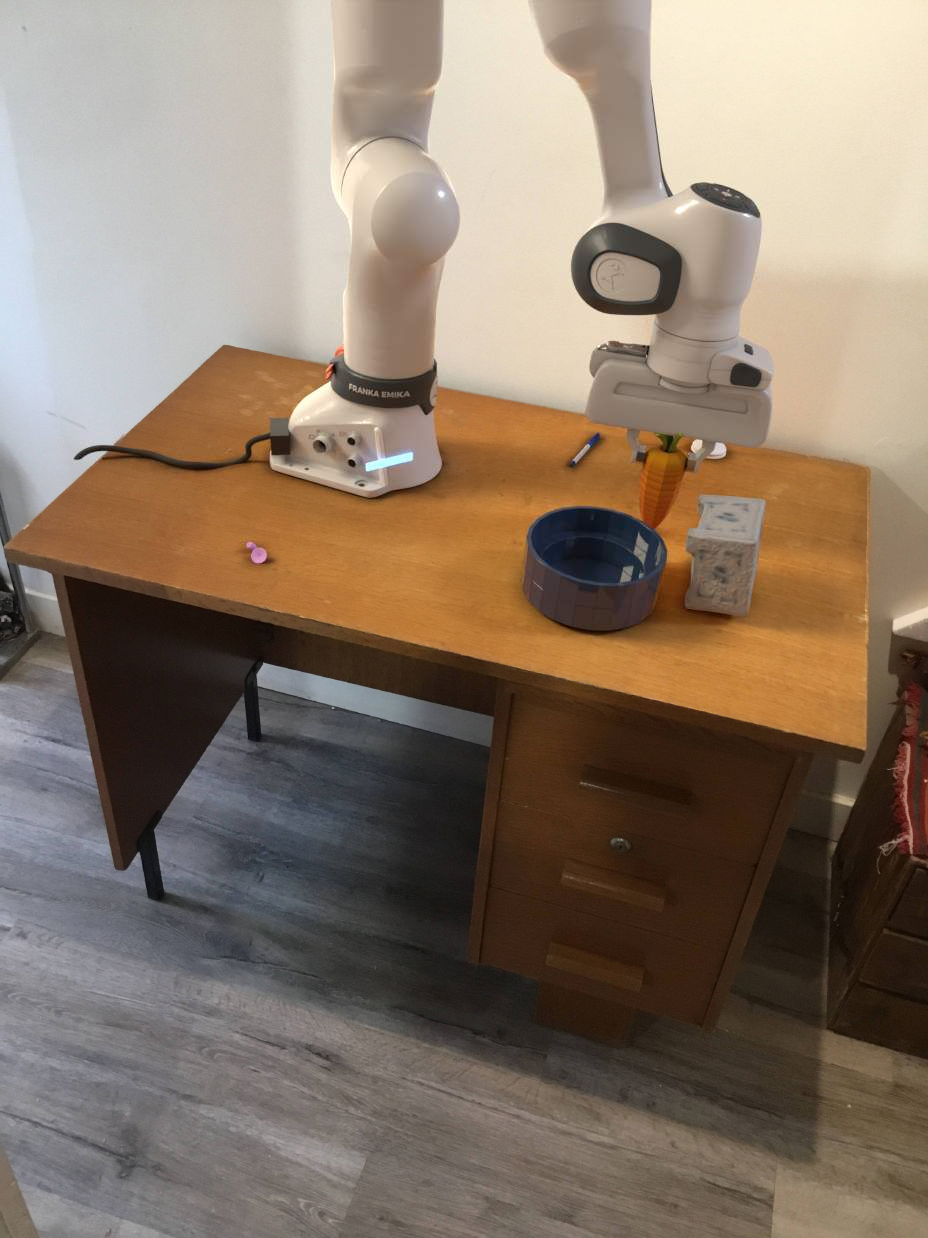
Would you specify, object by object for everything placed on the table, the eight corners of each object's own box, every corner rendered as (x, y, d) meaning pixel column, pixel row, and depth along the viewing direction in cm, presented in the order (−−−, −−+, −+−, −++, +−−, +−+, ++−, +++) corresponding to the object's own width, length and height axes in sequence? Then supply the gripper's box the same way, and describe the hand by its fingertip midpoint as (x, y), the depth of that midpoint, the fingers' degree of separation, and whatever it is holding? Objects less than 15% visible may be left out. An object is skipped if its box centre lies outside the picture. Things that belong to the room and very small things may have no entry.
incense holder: (682, 560, 107) (702, 483, 101) (753, 577, 105) (778, 500, 99) (667, 607, 100) (688, 527, 93) (744, 627, 98) (770, 547, 91)
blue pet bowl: (527, 633, 95) (534, 583, 91) (514, 551, 106) (520, 503, 102) (668, 636, 96) (681, 587, 92) (640, 554, 108) (651, 507, 104)
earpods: (263, 569, 103) (274, 558, 103) (258, 566, 101) (269, 555, 101) (246, 551, 104) (257, 540, 104) (241, 547, 102) (252, 536, 102)
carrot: (669, 546, 109) (696, 433, 100) (627, 539, 110) (651, 426, 101) (670, 524, 113) (696, 413, 104) (630, 518, 114) (653, 407, 104)
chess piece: (730, 449, 130) (748, 383, 124) (718, 462, 126) (736, 395, 120) (698, 438, 132) (714, 373, 125) (685, 451, 128) (701, 385, 122)
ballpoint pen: (594, 436, 131) (595, 429, 130) (600, 437, 130) (601, 431, 130) (568, 467, 123) (569, 460, 122) (575, 468, 123) (576, 462, 122)
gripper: (590, 348, 96) (572, 464, 105) (788, 377, 93) (753, 493, 102) (596, 327, 101) (579, 439, 110) (784, 354, 98) (751, 467, 107)
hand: (664, 466), depth 106 cm, fingers closed on carrot, 5 cm apart
